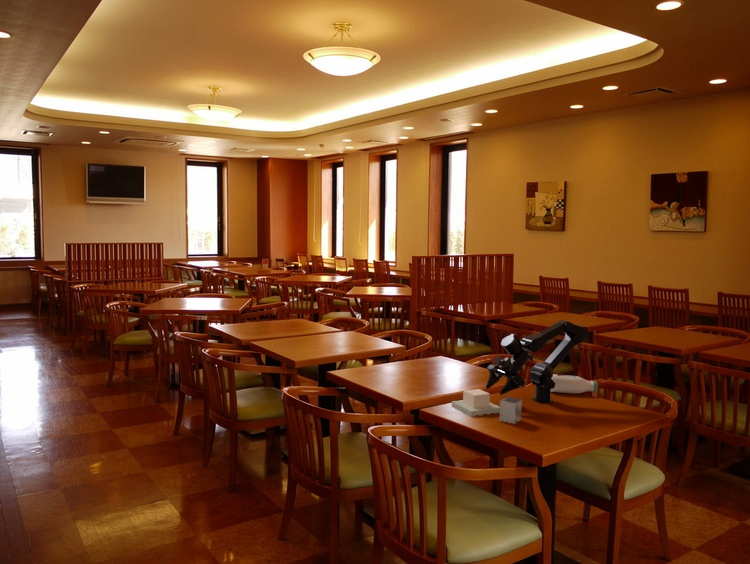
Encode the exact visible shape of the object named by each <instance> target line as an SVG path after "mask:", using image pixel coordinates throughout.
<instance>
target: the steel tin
mask: <svg viewBox="0 0 750 564" xmlns="http://www.w3.org/2000/svg"><path fill="white" fill-rule="evenodd" d="M522 405H523V400H522V399H519V398H514V397H511V396H506V397H504V398H501V399H500V400H499V407H500V413H499V420H498V421H499V422H501V421H503V422H502V423H505V422H508V423H507V424H510V423H513V424H512V425H514V424H515V423H516V424H518V423H519V422H521V421H520V420H522ZM518 421H519V422H518ZM517 422H518V423H517ZM516 424H515V425H516Z"/></svg>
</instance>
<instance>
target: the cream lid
mask: <svg viewBox="0 0 750 564" xmlns="http://www.w3.org/2000/svg"><path fill="white" fill-rule="evenodd" d="M490 396H491V394H490V393H489V392H487V391H484V390H482V389H480V388H476V389H465V390H463V395H462V400H463V403H464V404H466V405H468V406H470V407H472V408H479V407H487V406H489V402H491V401H490V399H491V398H490Z"/></svg>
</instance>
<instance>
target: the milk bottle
mask: <svg viewBox="0 0 750 564" xmlns="http://www.w3.org/2000/svg"><path fill="white" fill-rule="evenodd" d="M551 379H552V380H553V381H554V382H555V387H554V388H553V389H551V391H550V392H551V393H561V394H574V395H575V394H582V393H587V392H592V393H597V391H598V387H599V386H598V381H595V380H587V379H584V378H583V377H581V376H577V375H566V374H554V373H553V377H552V378H551Z"/></svg>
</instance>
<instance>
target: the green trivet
mask: <svg viewBox="0 0 750 564" xmlns="http://www.w3.org/2000/svg"><path fill="white" fill-rule="evenodd" d="M451 407H452V408H454V409H456V410H457V411H460V412H462V413H463V414H465V415H467V416H470V417H471V416H472V417H477V416H476V415H479V416H484V415H483V414H487V415H492V414H491V413H494V414H500V405H497V404H494V403H492V402H491V401H489V406H487V407H479V408H472V407H470V406H468V405H466V404H464V403H463V399H461V400H452V401H451Z"/></svg>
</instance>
